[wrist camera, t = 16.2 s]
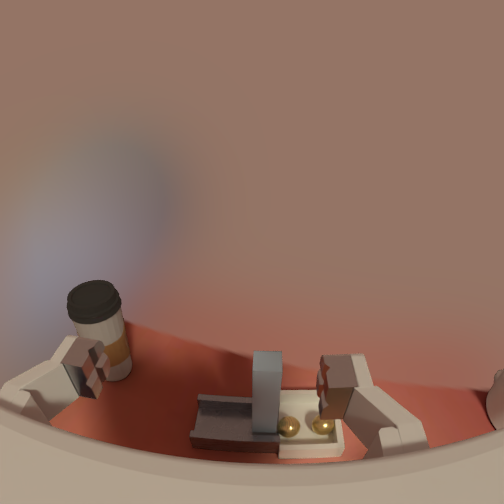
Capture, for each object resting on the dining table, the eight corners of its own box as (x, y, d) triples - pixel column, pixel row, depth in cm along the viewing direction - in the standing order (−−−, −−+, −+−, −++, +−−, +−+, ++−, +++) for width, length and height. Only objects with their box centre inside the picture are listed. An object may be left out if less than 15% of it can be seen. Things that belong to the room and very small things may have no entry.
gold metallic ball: (331, 419, 39) (335, 410, 37) (332, 438, 37) (336, 430, 35) (310, 419, 40) (313, 410, 38) (309, 438, 37) (313, 430, 35)
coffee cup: (145, 378, 47) (123, 300, 40) (97, 392, 43) (65, 317, 36) (131, 346, 53) (112, 273, 46) (88, 359, 49) (62, 286, 42)
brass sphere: (303, 414, 38) (285, 411, 37) (306, 435, 36) (287, 433, 35) (289, 420, 40) (271, 418, 39) (291, 440, 38) (273, 439, 36)
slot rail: (278, 410, 42) (279, 398, 41) (278, 452, 35) (280, 442, 34) (200, 406, 42) (198, 393, 41) (192, 447, 36) (189, 436, 35)
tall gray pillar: (275, 415, 40) (281, 348, 34) (275, 439, 36) (282, 375, 31) (253, 415, 40) (253, 347, 34) (251, 438, 37) (252, 374, 31)
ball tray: (332, 399, 43) (335, 389, 42) (340, 456, 34) (344, 447, 33) (278, 400, 44) (279, 390, 42) (278, 458, 35) (279, 450, 33)
